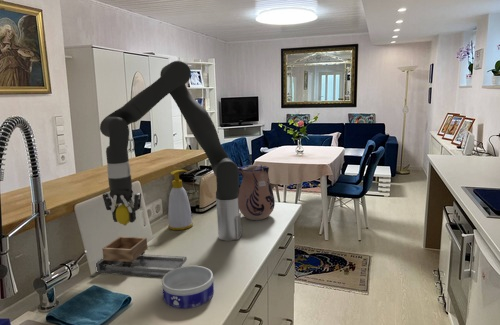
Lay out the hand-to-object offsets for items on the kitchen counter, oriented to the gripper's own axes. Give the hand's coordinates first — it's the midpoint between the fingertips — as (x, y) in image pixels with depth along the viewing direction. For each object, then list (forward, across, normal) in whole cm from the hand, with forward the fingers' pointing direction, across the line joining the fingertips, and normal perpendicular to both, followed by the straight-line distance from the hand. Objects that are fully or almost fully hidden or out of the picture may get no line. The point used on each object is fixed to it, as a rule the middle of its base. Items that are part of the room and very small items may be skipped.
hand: (124, 221), depth 132 cm
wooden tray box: (+14, +1, 0) cm, 14 cm away
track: (+16, -5, 0) cm, 17 cm away
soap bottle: (+17, -3, -40) cm, 43 cm away
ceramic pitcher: (+17, -34, -55) cm, 67 cm away
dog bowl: (+17, -29, +16) cm, 37 cm away
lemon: (+2, 0, 0) cm, 2 cm away
